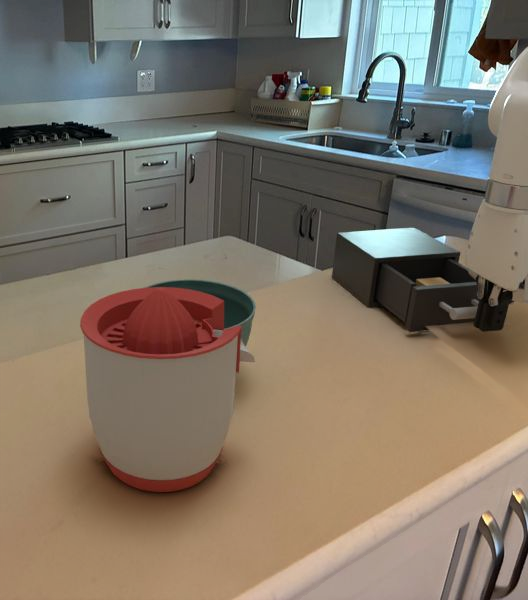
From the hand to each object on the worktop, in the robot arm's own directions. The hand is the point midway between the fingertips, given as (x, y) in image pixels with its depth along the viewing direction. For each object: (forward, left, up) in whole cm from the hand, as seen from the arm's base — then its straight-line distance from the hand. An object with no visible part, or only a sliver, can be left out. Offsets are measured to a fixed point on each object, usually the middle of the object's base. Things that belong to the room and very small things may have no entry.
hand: (487, 328), depth 83 cm
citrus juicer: (+47, +14, -5) cm, 49 cm away
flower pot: (+41, -2, -5) cm, 41 cm away
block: (0, -13, -2) cm, 13 cm away
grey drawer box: (0, -25, -4) cm, 25 cm away
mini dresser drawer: (0, -11, -4) cm, 12 cm away
